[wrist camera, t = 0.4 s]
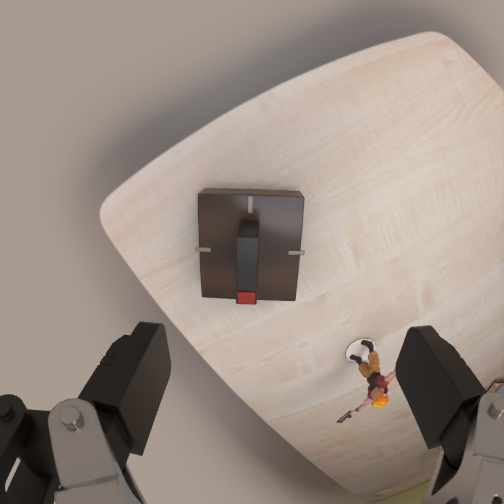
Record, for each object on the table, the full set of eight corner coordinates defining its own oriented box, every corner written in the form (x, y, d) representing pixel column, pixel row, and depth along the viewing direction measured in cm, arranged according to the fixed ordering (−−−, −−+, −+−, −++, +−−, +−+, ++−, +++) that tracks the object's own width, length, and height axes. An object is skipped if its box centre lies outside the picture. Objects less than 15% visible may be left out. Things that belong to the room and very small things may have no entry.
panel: (200, 188, 27) (193, 193, 24) (303, 191, 27) (308, 197, 24) (203, 283, 31) (197, 298, 28) (296, 286, 30) (299, 302, 27)
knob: (240, 220, 25) (235, 237, 20) (259, 221, 25) (258, 238, 20) (240, 278, 27) (235, 305, 22) (257, 279, 27) (256, 306, 22)
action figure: (340, 388, 36) (354, 441, 27) (324, 383, 36) (335, 439, 27) (393, 324, 32) (423, 375, 23) (376, 317, 32) (405, 370, 23)
